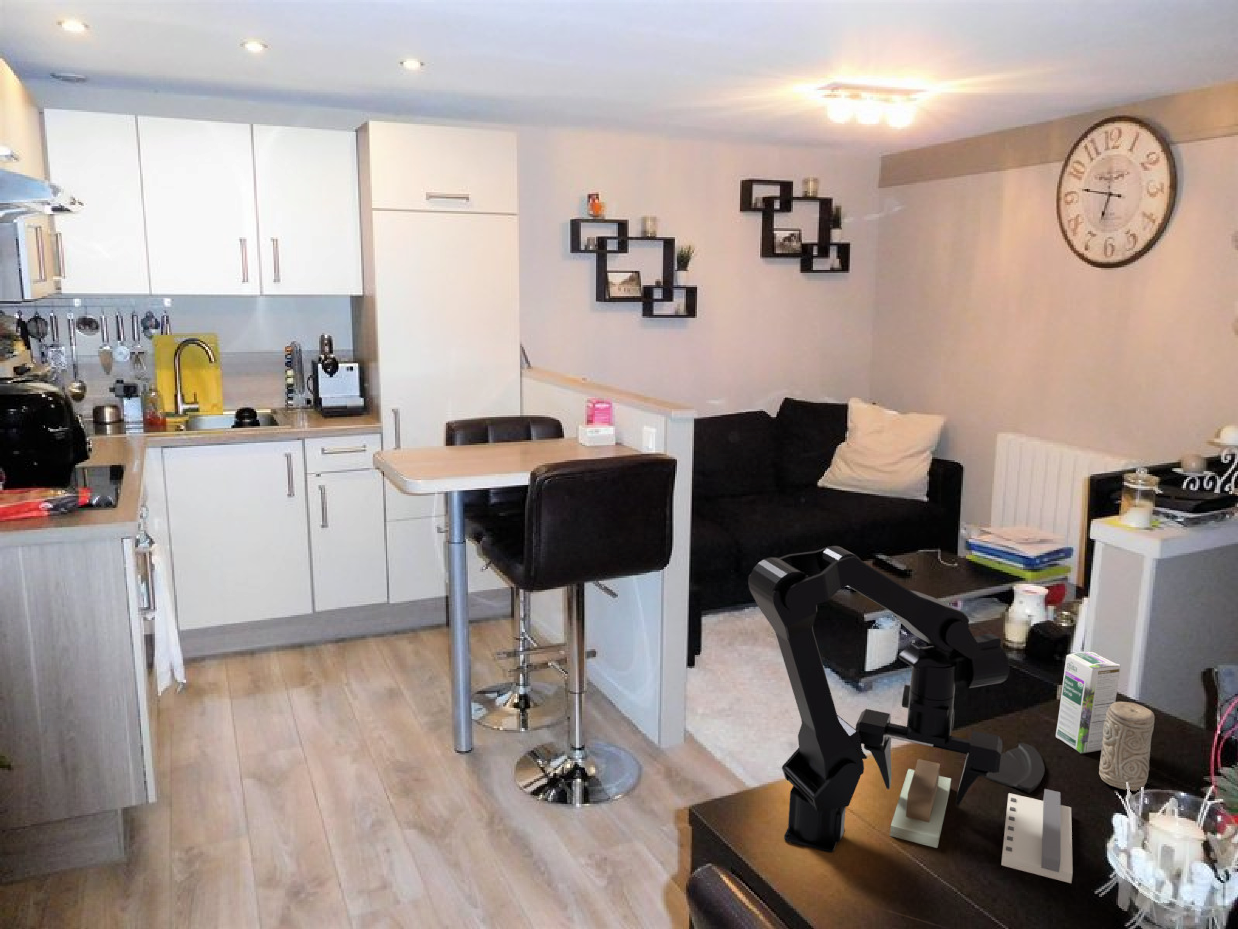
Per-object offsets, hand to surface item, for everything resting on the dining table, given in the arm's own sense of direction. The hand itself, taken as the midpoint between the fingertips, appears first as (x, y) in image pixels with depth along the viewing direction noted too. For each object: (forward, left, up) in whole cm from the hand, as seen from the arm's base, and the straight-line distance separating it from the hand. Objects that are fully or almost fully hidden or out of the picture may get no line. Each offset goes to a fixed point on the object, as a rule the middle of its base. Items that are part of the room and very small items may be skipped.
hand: (922, 795), depth 128 cm
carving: (+26, +21, -3) cm, 33 cm away
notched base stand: (+15, 0, -2) cm, 15 cm away
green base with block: (0, 0, -2) cm, 2 cm away
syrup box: (+21, +32, -3) cm, 38 cm away
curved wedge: (+12, +18, -3) cm, 22 cm away
